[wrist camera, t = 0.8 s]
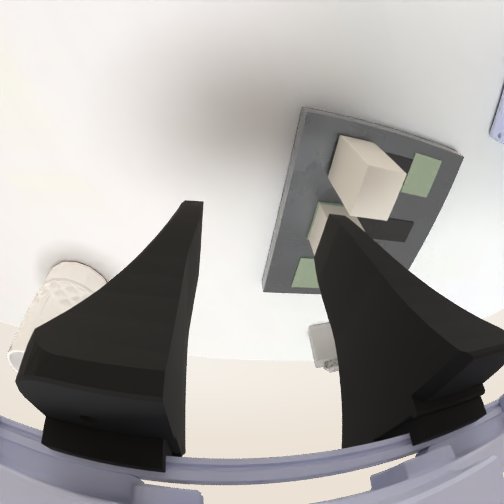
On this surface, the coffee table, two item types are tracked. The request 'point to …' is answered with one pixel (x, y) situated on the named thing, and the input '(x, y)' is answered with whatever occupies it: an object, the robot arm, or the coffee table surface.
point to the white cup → (54, 302)
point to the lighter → (323, 347)
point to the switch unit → (322, 192)
